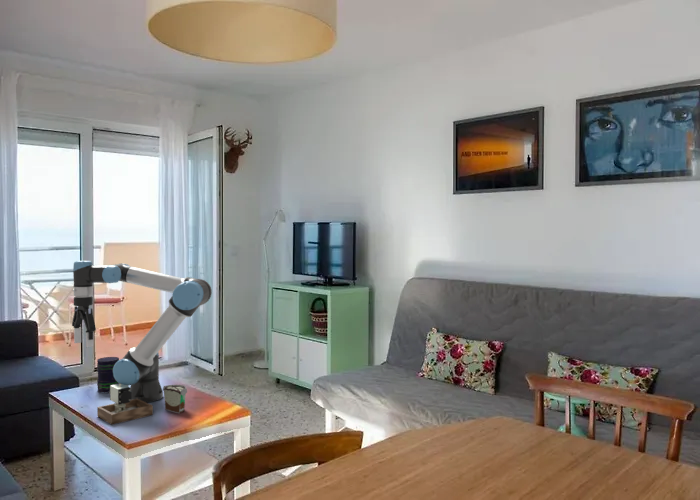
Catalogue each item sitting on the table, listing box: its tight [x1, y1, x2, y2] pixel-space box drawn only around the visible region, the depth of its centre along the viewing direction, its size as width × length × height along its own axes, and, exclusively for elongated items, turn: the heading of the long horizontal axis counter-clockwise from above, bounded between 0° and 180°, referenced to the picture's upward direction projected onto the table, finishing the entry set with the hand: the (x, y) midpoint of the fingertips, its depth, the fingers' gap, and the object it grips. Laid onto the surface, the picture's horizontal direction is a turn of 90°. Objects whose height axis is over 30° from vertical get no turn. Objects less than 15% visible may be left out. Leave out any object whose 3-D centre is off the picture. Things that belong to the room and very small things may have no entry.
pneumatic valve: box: [108, 383, 132, 413], centre depth 235 cm, size 6×12×12 cm, turn 45°
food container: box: [162, 384, 188, 414], centre depth 243 cm, size 12×6×10 cm, turn 56°
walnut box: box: [96, 399, 154, 425], centre depth 234 cm, size 17×14×4 cm
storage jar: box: [96, 356, 120, 393], centre depth 273 cm, size 10×10×15 cm
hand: (83, 345), depth 247 cm, fingers open, 13 cm apart
